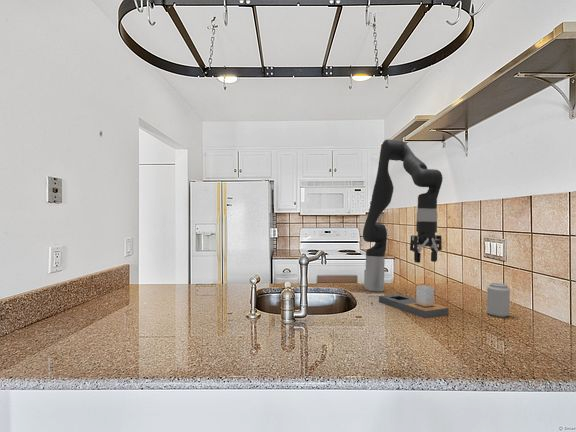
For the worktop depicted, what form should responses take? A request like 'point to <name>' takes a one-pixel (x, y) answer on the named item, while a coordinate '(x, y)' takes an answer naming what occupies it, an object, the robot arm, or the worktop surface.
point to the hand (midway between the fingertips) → (425, 262)
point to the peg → (425, 296)
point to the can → (498, 299)
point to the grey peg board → (413, 306)
